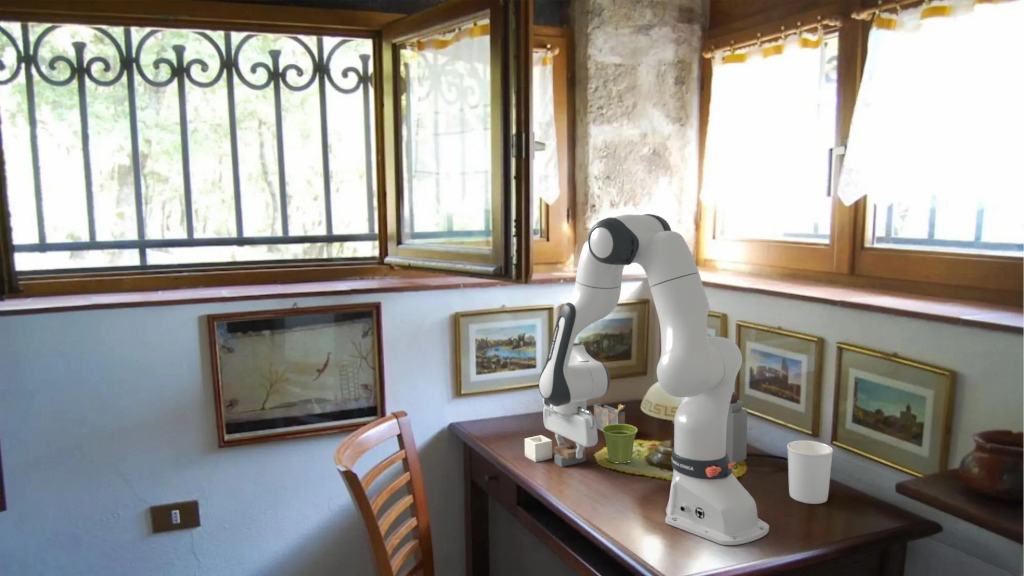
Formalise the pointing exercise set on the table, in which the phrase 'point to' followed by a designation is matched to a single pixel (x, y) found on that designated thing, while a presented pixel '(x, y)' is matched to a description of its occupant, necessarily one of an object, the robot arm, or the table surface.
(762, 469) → the table surface
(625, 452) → the plant pot
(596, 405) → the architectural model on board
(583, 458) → the gray rectangular block
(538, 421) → the table surface
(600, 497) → the table surface
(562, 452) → the lid
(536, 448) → the white open box
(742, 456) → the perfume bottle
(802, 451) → the candle holder
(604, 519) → the table surface
